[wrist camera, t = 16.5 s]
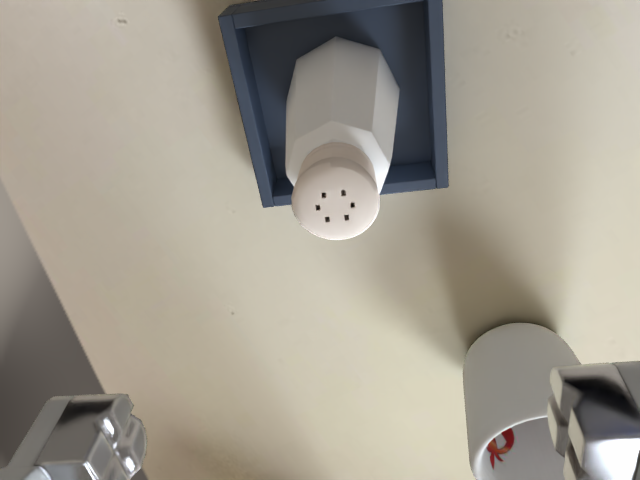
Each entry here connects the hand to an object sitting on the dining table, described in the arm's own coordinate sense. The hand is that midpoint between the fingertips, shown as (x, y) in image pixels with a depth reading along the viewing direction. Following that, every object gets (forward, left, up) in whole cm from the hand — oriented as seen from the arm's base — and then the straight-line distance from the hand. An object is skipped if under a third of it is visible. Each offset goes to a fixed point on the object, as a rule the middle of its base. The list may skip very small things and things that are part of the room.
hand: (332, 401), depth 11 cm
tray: (0, 0, -19) cm, 19 cm away
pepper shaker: (0, 0, -19) cm, 19 cm away
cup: (+12, +18, -20) cm, 29 cm away
